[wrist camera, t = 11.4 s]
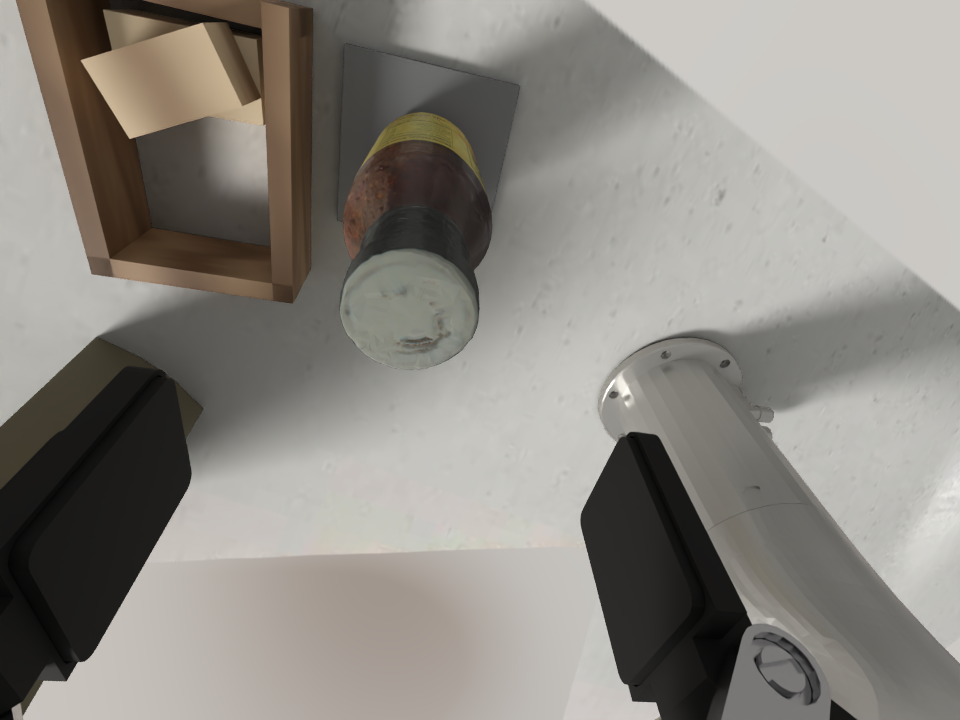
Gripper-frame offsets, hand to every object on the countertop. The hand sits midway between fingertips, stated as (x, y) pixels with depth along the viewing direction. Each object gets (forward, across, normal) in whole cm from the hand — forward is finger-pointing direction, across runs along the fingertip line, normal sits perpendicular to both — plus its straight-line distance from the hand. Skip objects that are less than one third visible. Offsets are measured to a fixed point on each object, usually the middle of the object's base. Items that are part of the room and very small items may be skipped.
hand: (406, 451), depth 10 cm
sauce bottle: (+24, +1, -1) cm, 25 cm away
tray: (+25, +14, +1) cm, 28 cm away
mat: (+25, +1, -1) cm, 25 cm away
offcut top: (+22, +13, -3) cm, 26 cm away
